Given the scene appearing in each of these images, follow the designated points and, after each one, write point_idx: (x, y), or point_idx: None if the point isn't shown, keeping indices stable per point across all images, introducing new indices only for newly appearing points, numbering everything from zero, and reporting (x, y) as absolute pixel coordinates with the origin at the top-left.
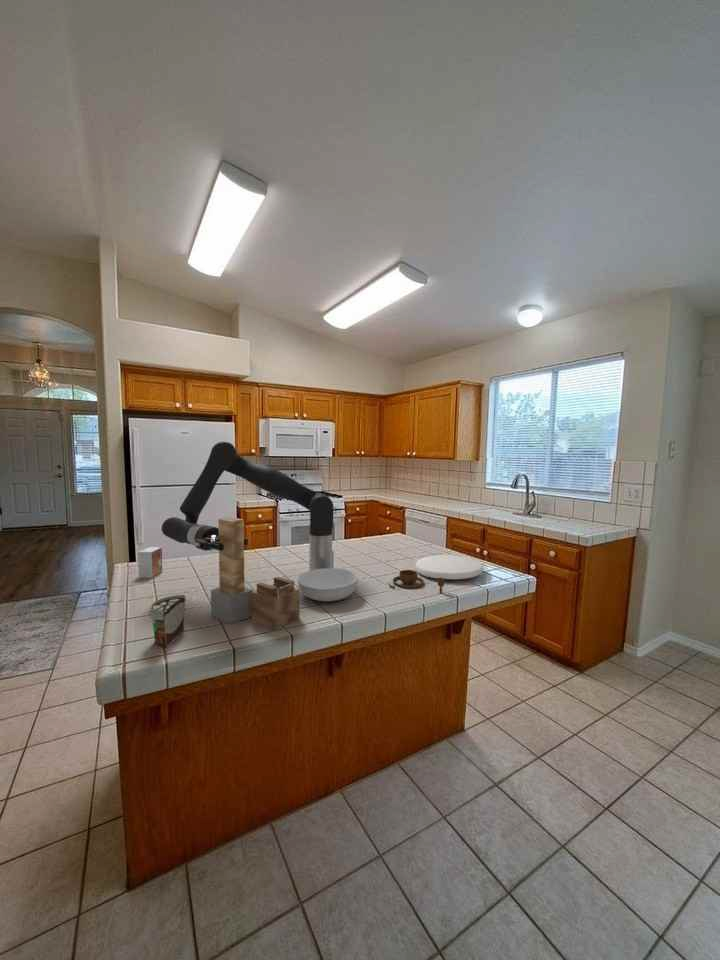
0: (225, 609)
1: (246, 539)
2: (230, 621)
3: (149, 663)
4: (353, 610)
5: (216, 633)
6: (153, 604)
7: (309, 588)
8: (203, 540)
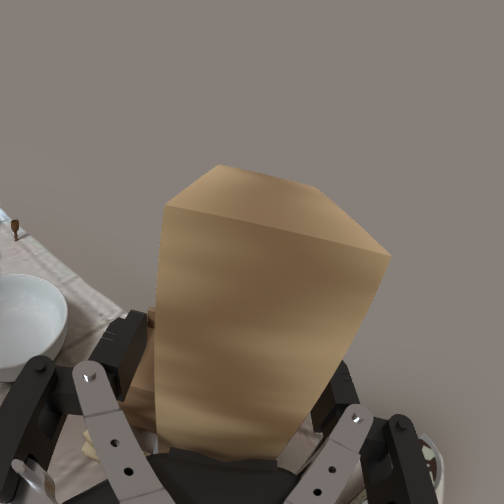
0: None
1: (142, 313)
2: None
3: None
4: (75, 304)
5: (282, 461)
6: (435, 487)
7: (61, 335)
8: (405, 476)
